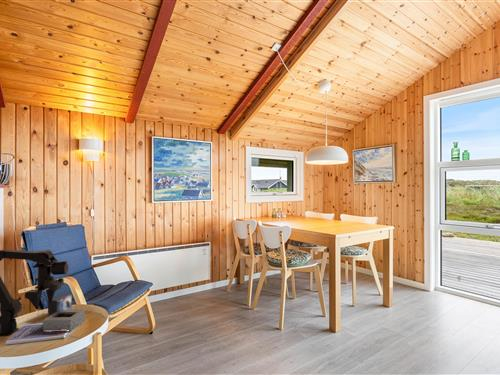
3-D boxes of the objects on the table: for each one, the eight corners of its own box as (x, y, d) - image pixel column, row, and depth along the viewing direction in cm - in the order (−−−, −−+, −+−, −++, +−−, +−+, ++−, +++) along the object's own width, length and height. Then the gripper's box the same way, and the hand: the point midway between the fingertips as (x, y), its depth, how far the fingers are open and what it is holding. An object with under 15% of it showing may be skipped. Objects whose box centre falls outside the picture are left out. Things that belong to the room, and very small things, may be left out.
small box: (57, 319, 157) (56, 300, 157) (47, 318, 158) (46, 299, 158) (72, 311, 167) (72, 293, 167) (63, 310, 168) (62, 292, 169)
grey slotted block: (42, 332, 143) (42, 320, 143) (59, 321, 155) (59, 310, 155) (70, 331, 142) (70, 319, 142) (84, 320, 154) (84, 309, 154)
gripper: (46, 281, 138) (45, 313, 137) (71, 270, 156) (70, 299, 156) (23, 281, 138) (23, 313, 138) (51, 270, 157) (50, 298, 156)
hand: (43, 305), depth 147 cm, fingers open, 9 cm apart
